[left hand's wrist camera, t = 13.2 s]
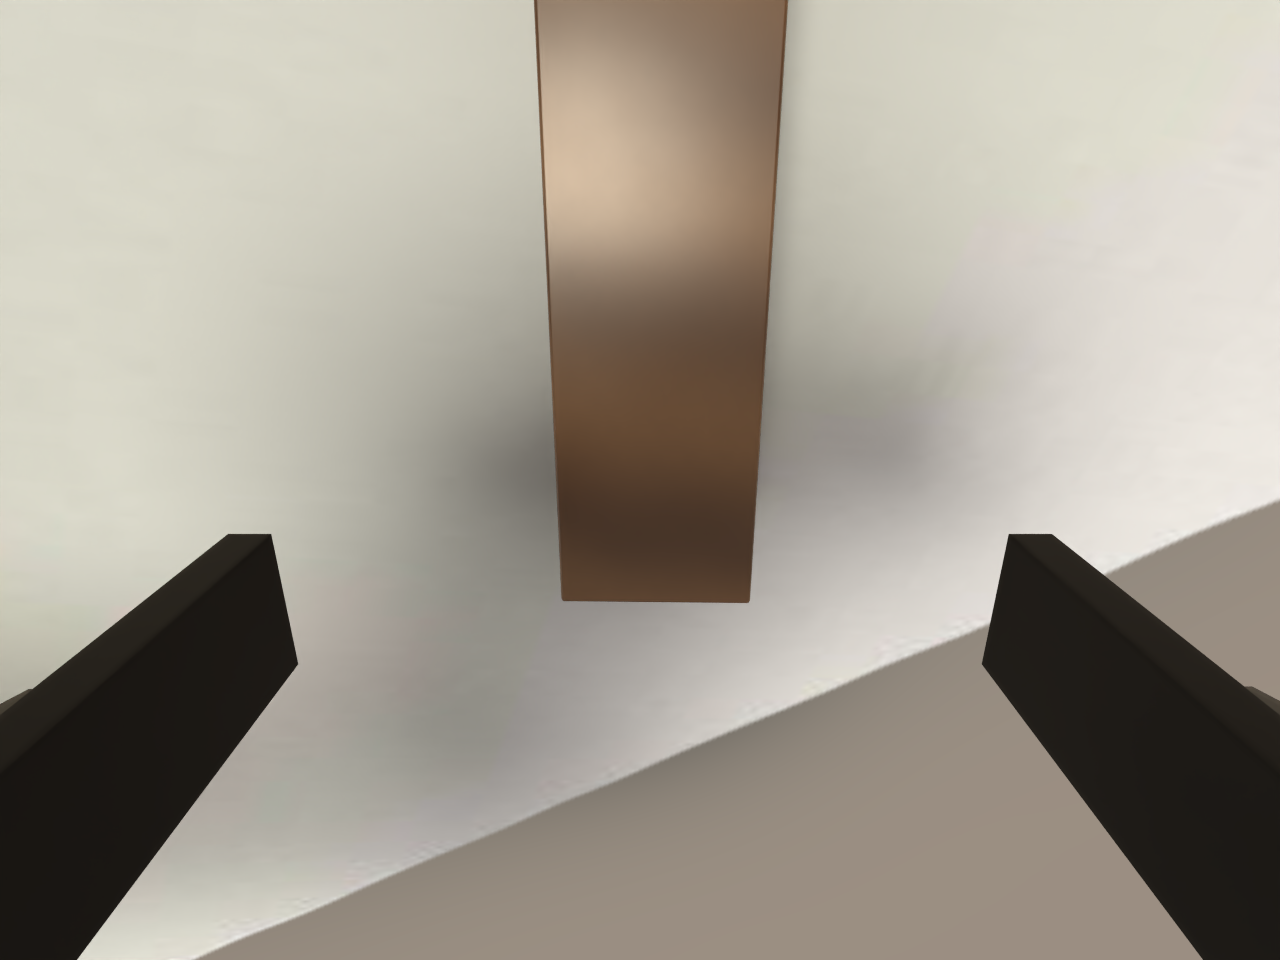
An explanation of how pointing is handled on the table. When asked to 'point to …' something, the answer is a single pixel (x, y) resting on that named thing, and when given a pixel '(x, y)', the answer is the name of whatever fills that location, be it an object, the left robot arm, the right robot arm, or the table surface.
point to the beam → (658, 285)
